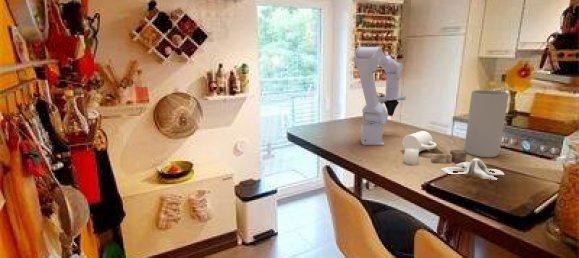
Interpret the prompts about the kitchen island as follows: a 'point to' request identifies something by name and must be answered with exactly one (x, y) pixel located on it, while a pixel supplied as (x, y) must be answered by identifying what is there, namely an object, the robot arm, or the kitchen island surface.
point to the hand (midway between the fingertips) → (390, 115)
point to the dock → (440, 155)
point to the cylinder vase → (486, 122)
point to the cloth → (474, 169)
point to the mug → (419, 141)
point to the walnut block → (458, 156)
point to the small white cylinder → (411, 156)
